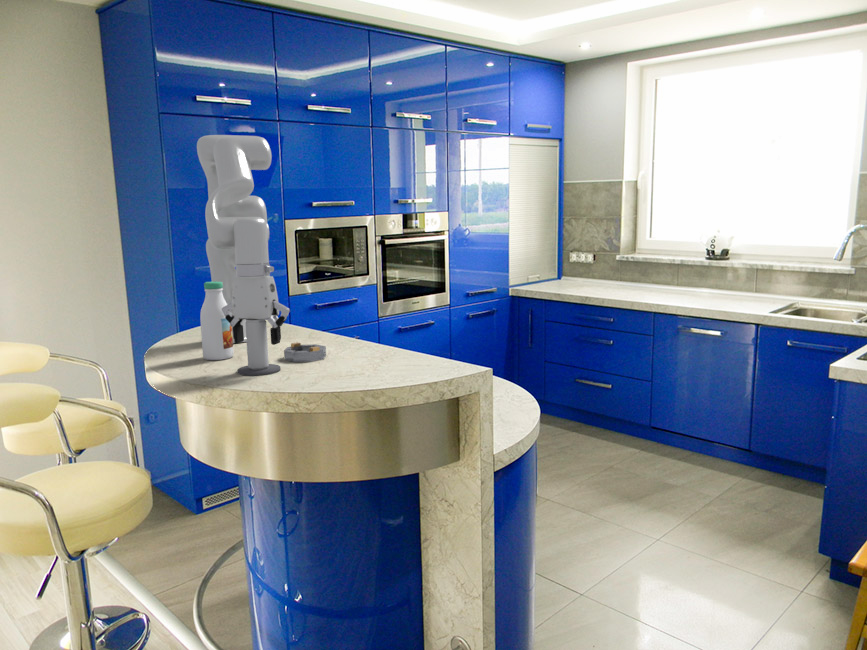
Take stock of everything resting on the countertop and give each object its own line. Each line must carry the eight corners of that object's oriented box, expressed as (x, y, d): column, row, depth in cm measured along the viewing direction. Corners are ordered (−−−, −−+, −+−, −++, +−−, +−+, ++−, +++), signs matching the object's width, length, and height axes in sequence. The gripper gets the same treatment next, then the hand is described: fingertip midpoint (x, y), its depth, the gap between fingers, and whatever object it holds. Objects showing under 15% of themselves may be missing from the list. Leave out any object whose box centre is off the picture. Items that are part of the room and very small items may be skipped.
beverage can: (249, 371, 161) (245, 320, 159) (247, 366, 165) (244, 318, 164) (269, 369, 163) (267, 319, 161) (267, 365, 167) (265, 316, 165)
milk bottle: (214, 362, 175) (209, 284, 171) (197, 358, 179) (191, 282, 176) (239, 356, 181) (234, 281, 177) (222, 353, 185) (216, 280, 182)
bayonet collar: (278, 358, 178) (277, 345, 177) (310, 352, 185) (309, 340, 184) (300, 363, 171) (299, 350, 170) (332, 357, 178) (332, 344, 177)
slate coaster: (229, 371, 164) (229, 368, 164) (266, 364, 171) (266, 361, 171) (251, 377, 157) (251, 375, 157) (288, 370, 164) (288, 367, 164)
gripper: (293, 269, 161) (297, 341, 164) (228, 269, 166) (233, 339, 169) (278, 272, 154) (282, 347, 157) (211, 272, 159) (216, 344, 161)
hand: (257, 343), depth 163 cm, fingers open, 9 cm apart
